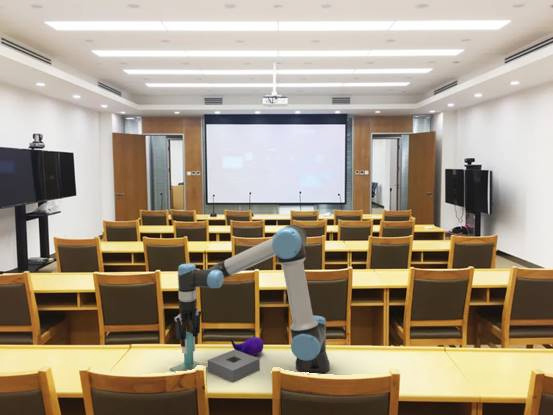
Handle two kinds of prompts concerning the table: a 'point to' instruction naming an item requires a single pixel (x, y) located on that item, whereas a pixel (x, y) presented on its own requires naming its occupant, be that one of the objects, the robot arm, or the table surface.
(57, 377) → the table surface
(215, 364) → the socket
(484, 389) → the table surface
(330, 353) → the table surface
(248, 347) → the toy
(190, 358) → the plug
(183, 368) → the mat
